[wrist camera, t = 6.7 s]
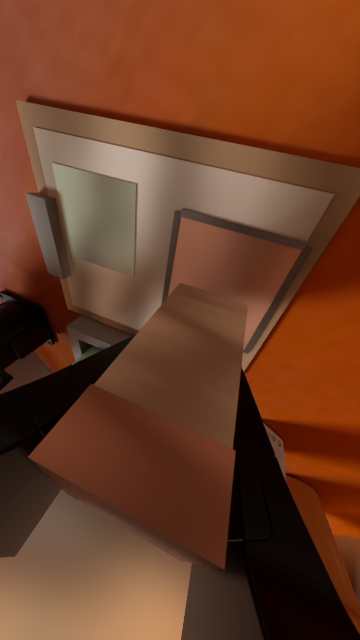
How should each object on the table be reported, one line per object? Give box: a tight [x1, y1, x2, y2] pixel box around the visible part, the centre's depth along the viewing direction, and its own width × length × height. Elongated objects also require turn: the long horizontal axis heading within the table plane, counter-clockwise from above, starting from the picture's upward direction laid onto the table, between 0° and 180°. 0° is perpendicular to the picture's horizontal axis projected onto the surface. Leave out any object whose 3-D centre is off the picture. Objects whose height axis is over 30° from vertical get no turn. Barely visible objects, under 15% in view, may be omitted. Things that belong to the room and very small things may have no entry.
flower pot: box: [286, 475, 360, 634], centre depth 22 cm, size 14×14×13 cm
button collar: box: [66, 315, 133, 361], centre depth 21 cm, size 8×8×2 cm
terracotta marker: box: [28, 283, 248, 570], centre depth 7 cm, size 4×4×8 cm
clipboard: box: [16, 100, 360, 371], centre depth 14 cm, size 19×15×2 cm
